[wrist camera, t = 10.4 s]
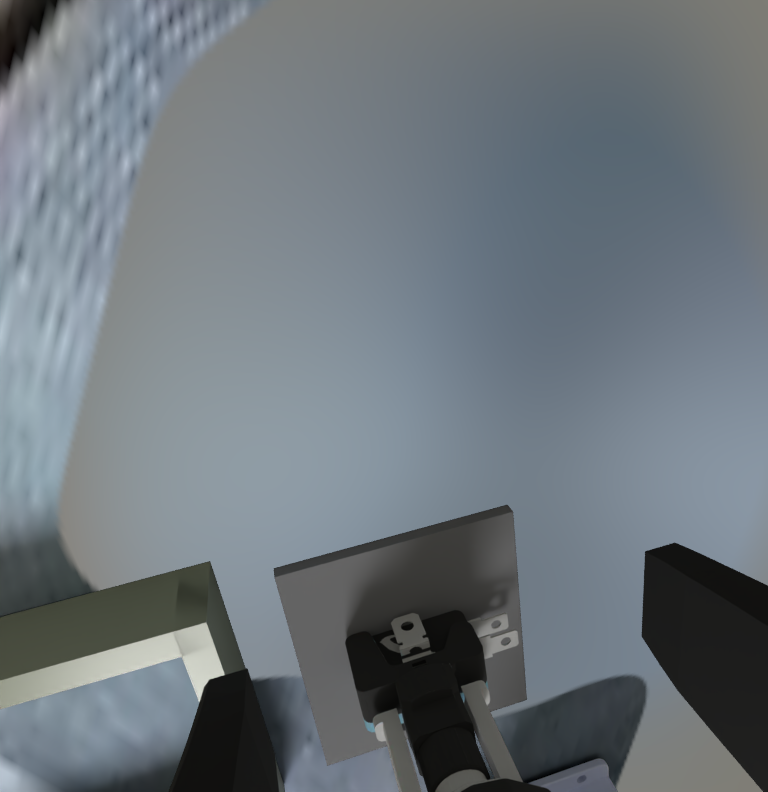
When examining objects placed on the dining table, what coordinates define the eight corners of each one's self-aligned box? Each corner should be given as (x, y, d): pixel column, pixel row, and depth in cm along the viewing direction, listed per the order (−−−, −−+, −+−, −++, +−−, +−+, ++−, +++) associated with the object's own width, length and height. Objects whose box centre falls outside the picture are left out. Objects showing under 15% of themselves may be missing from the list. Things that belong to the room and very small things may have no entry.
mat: (507, 504, 22) (513, 511, 22) (521, 690, 26) (526, 699, 26) (273, 568, 21) (274, 577, 21) (325, 754, 25) (327, 765, 25)
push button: (496, 559, 23) (670, 822, 14) (507, 659, 25) (664, 944, 16) (327, 610, 22) (394, 930, 13) (354, 710, 24) (428, 1046, 15)
